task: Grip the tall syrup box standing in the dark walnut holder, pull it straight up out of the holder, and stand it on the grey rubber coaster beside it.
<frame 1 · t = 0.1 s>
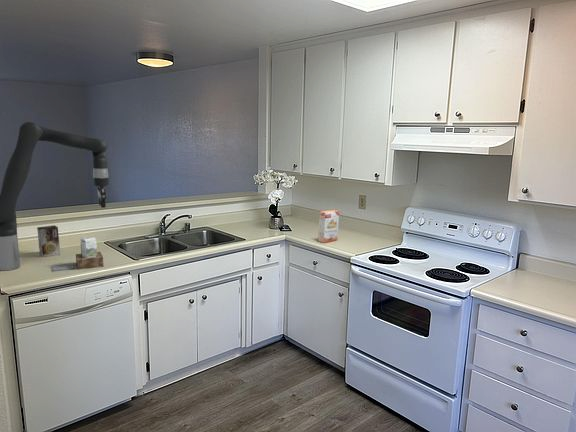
hand: (102, 206, 227), 29 cm above the worktop, tool pointing down, fingers open, 8 cm apart
coffee box: (49, 255, 235), on the worktop
syrup box: (89, 265, 219), resting in holder
holder: (89, 264, 219), on the worktop
coaster: (62, 267, 212), on the worktop
cracker box: (328, 241, 285), on the worktop
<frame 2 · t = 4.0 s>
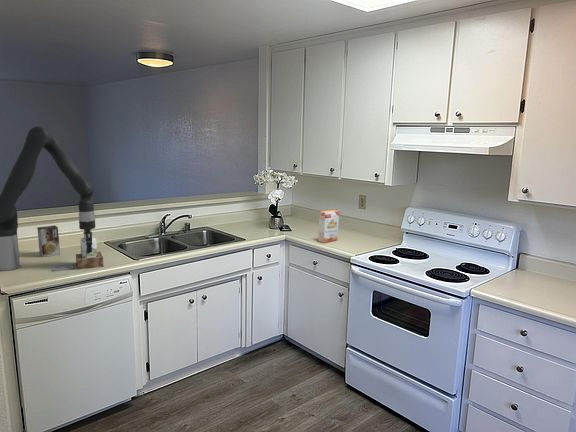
hand: (88, 250, 217), 8 cm above the worktop, tool pointing down, fingers closed on syrup box, 7 cm apart
syrup box: (89, 265, 219), resting in holder, touching gripper
everything else where it was.
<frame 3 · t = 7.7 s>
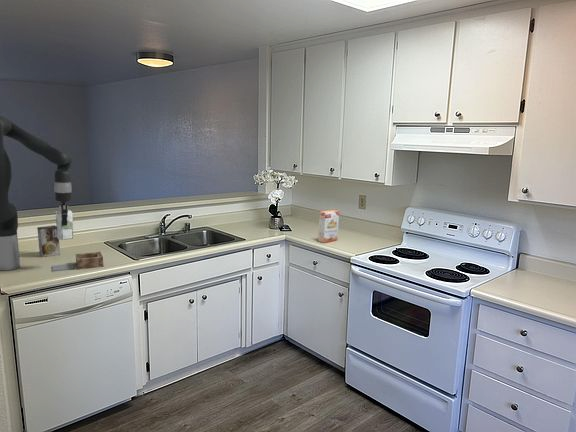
hand: (64, 223, 210), 23 cm above the worktop, tool pointing down, fingers closed on syrup box, 7 cm apart
syrup box: (65, 239, 211), point 15 cm above the worktop, touching gripper
everything else where it was.
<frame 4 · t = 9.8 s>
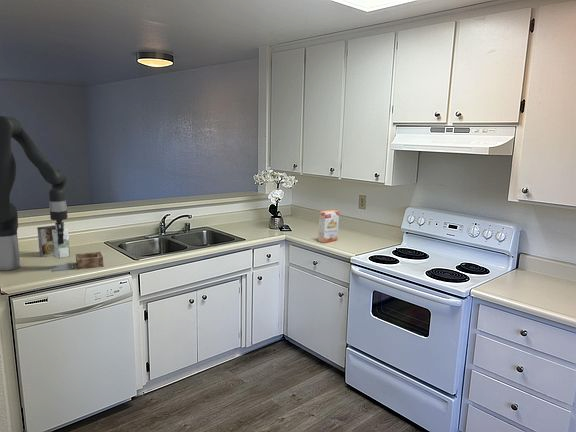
hand: (60, 242, 210), 14 cm above the worktop, tool pointing down, fingers closed on syrup box, 7 cm apart
syrup box: (62, 257, 211), point 6 cm above the worktop, touching gripper
everything else where it was.
when the fingers open (9 cm above the worktop, at t = 11.7 s): syrup box stays where it is, resting on coaster.
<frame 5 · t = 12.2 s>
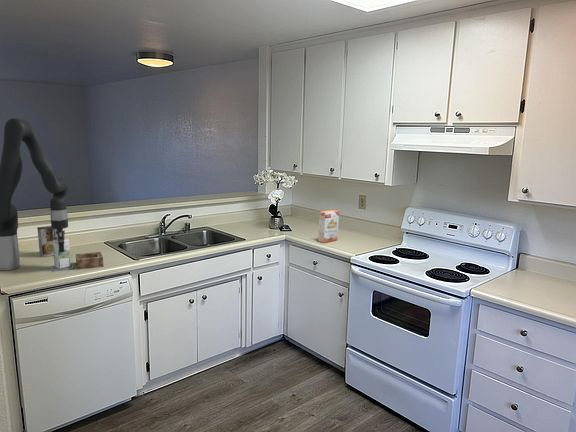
hand: (61, 249, 211), 10 cm above the worktop, tool pointing down, fingers open, 8 cm apart
syrup box: (62, 267, 212), resting on coaster
everything else where it was.
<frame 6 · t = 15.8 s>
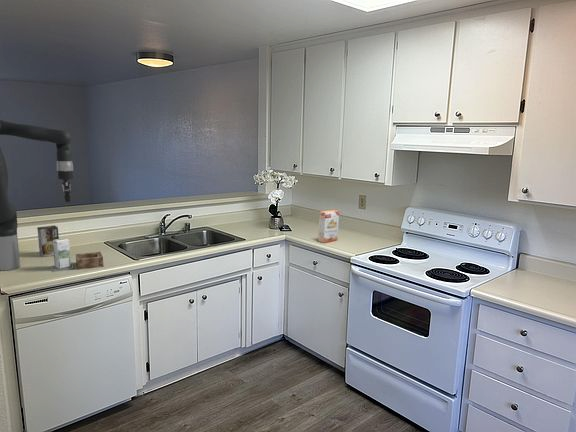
hand: (67, 200, 218), 33 cm above the worktop, tool pointing down, fingers open, 8 cm apart
nothing on the worktop moved.
at the end: syrup box inside the target area (0.1 cm from its centre), resting on coaster; syrup box tilted 0°; the gripper is holding nothing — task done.
